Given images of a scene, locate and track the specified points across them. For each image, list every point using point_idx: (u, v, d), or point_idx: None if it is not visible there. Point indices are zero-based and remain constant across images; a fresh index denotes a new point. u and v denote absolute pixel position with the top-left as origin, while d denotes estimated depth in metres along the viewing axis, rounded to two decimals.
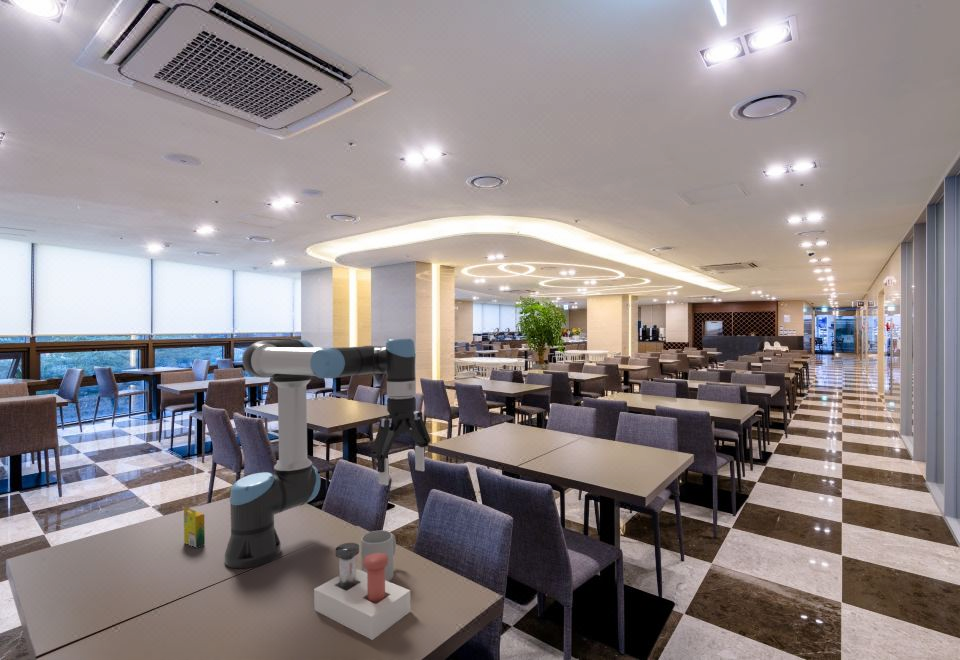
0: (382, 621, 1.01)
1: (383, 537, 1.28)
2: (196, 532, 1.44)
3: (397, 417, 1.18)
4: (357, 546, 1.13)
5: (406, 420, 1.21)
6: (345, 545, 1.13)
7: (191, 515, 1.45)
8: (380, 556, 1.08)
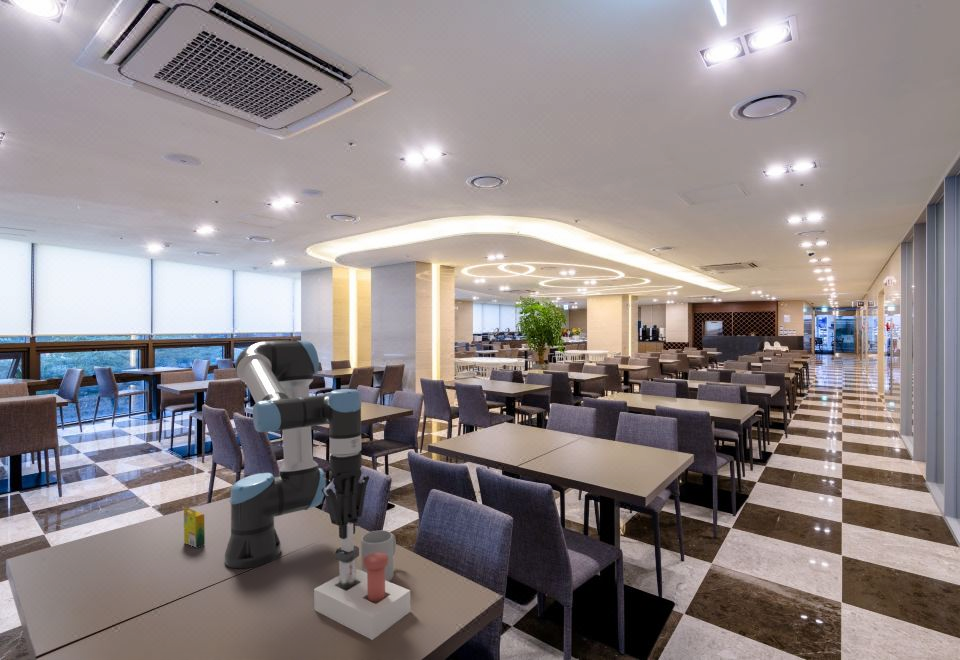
0: (382, 621, 1.01)
1: (383, 537, 1.28)
2: (196, 532, 1.44)
3: (338, 477, 1.09)
4: (357, 549, 1.13)
5: (352, 476, 1.12)
6: None
7: (191, 515, 1.45)
8: (380, 556, 1.08)
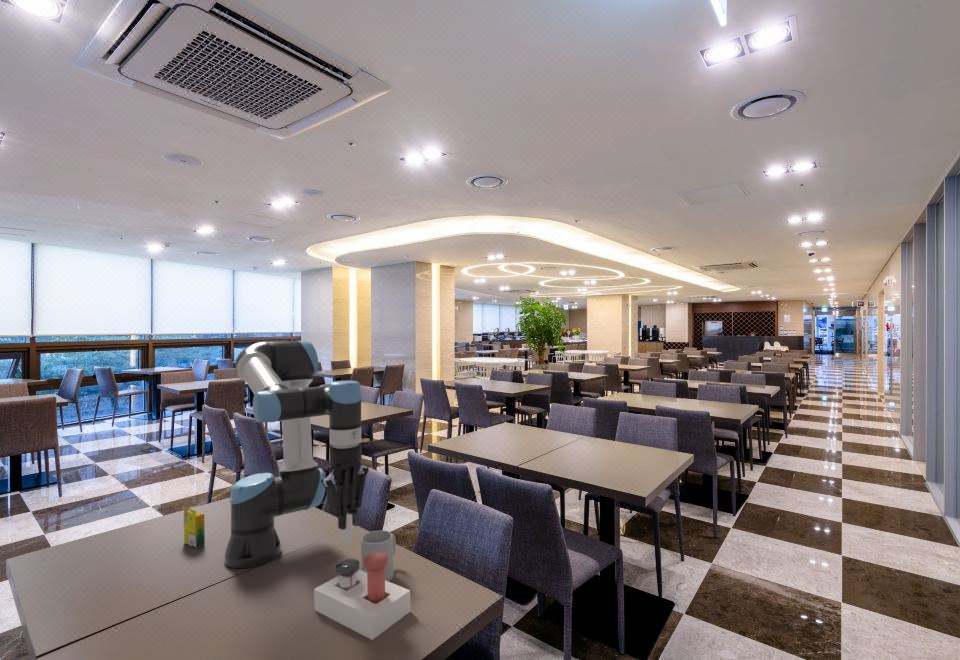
0: (382, 621, 1.01)
1: (383, 537, 1.28)
2: (196, 532, 1.44)
3: (337, 468, 1.09)
4: (357, 563, 1.13)
5: (351, 468, 1.12)
6: (345, 562, 1.13)
7: (191, 515, 1.45)
8: (380, 556, 1.08)
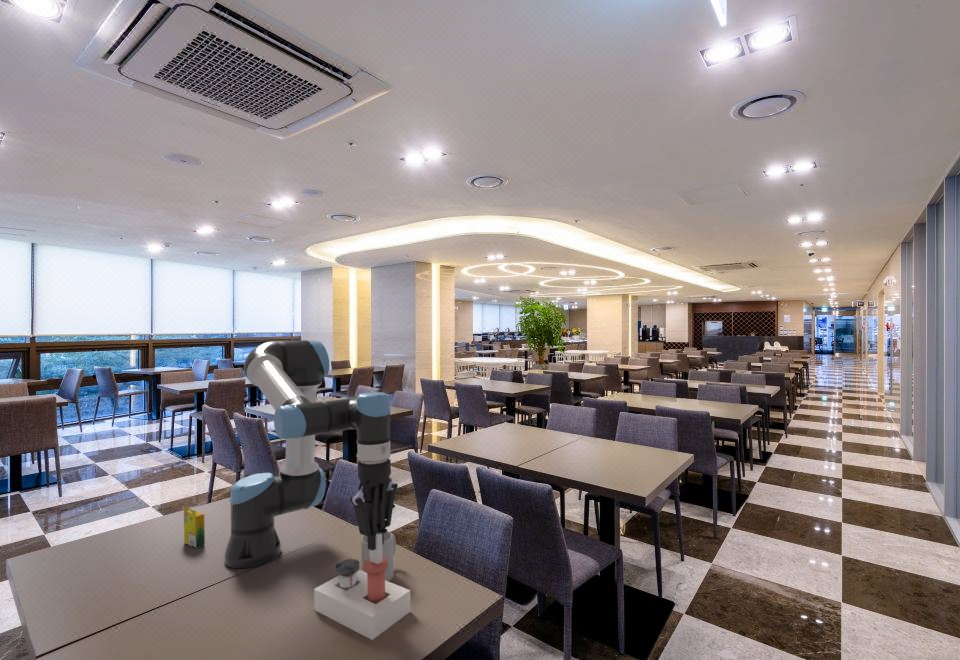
0: (382, 621, 1.01)
1: None
2: (196, 532, 1.44)
3: (367, 485, 1.03)
4: (357, 563, 1.13)
5: (380, 484, 1.07)
6: (345, 562, 1.13)
7: (191, 515, 1.45)
8: None
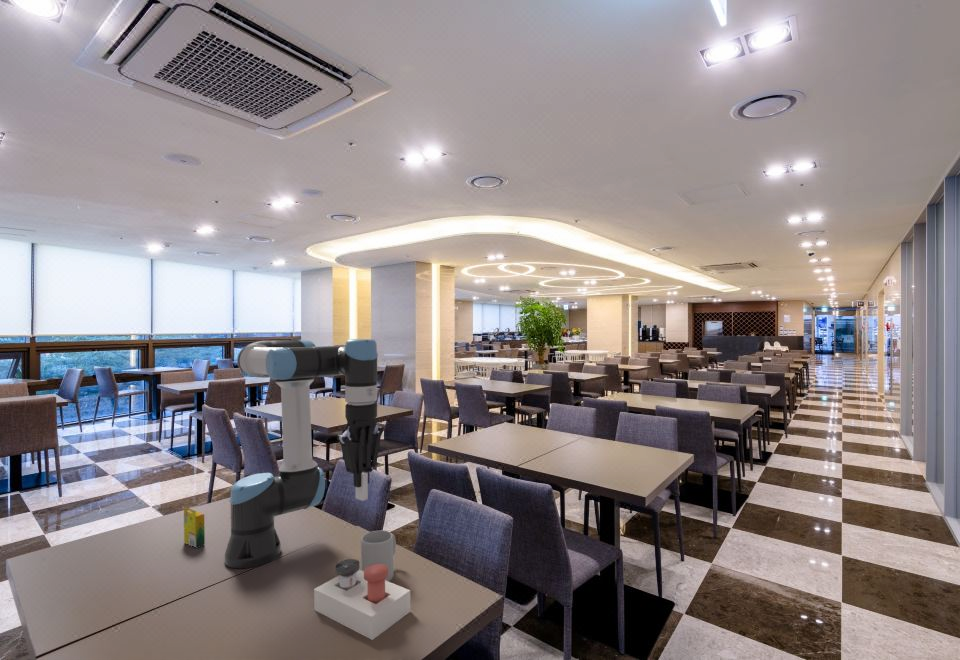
0: (382, 621, 1.01)
1: (383, 537, 1.28)
2: (196, 532, 1.44)
3: (353, 425, 1.08)
4: (357, 563, 1.13)
5: (367, 426, 1.12)
6: (345, 562, 1.13)
7: (191, 515, 1.45)
8: (380, 567, 1.08)
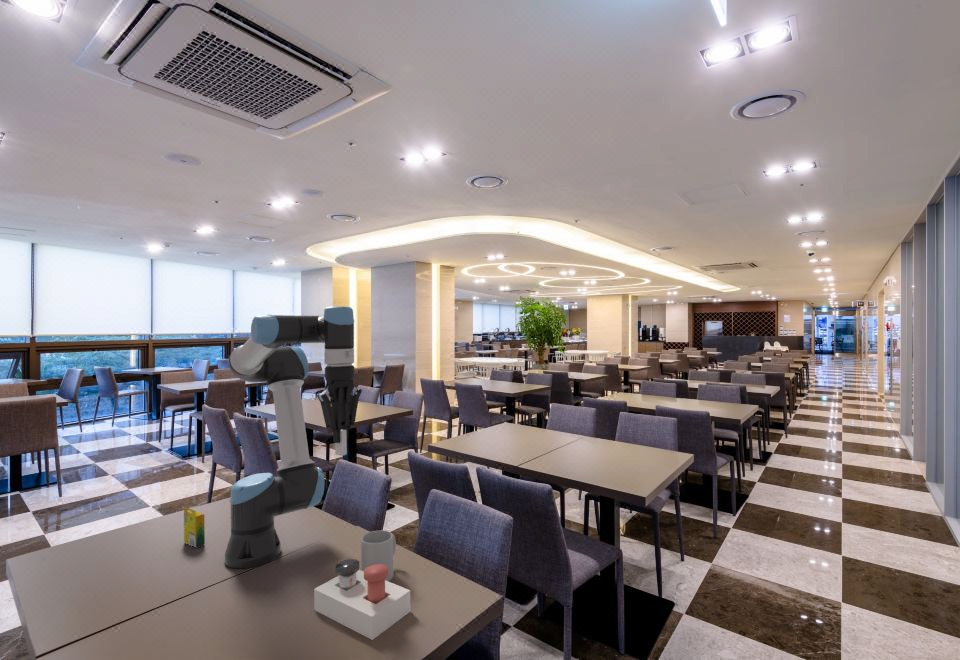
0: (382, 621, 1.01)
1: (383, 537, 1.28)
2: (196, 532, 1.44)
3: (332, 385, 1.18)
4: (357, 563, 1.13)
5: (345, 386, 1.21)
6: (345, 562, 1.13)
7: (191, 515, 1.45)
8: (380, 567, 1.08)
